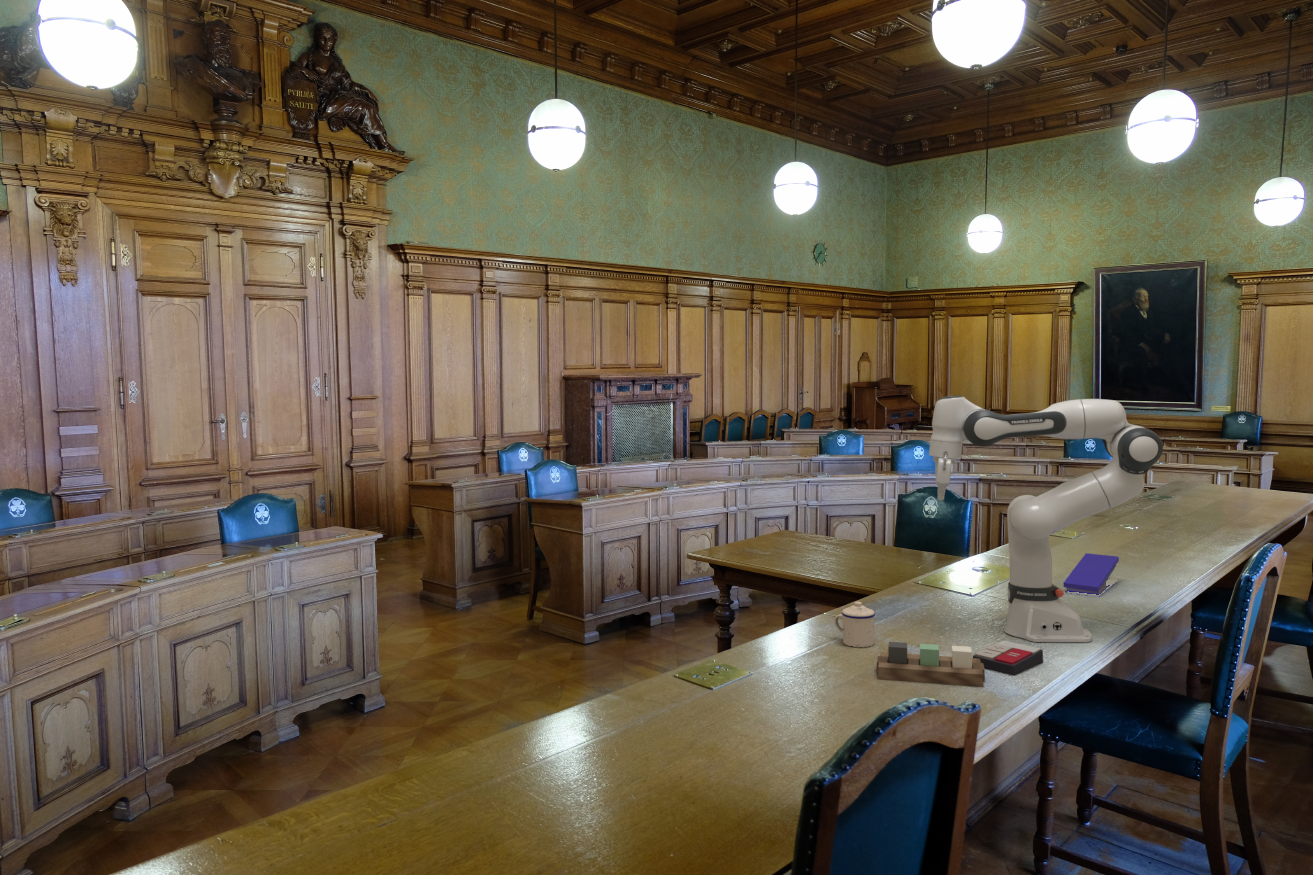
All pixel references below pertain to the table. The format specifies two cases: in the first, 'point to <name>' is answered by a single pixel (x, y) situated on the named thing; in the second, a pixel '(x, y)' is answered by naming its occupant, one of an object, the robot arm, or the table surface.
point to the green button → (929, 655)
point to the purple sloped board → (1091, 574)
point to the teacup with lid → (857, 625)
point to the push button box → (1010, 657)
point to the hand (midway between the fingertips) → (940, 497)
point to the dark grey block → (897, 652)
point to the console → (931, 671)
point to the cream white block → (961, 657)
